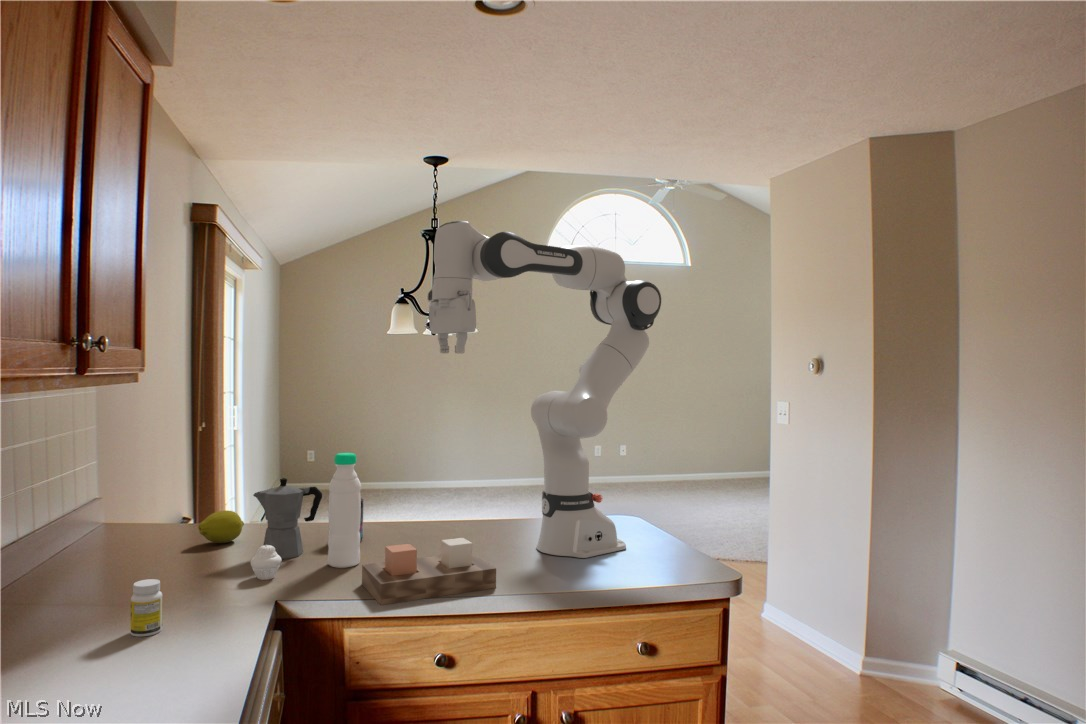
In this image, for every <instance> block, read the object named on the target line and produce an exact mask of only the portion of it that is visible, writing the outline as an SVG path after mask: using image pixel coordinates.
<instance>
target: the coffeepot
mask: <svg viewBox="0 0 1086 724" xmlns="http://www.w3.org/2000/svg"><path fill="white" fill-rule="evenodd" d="M279 481H280V485H278V486H276V487H275V486H274V487H272V488H267V489H265V490H259V491H257V492H254V494H253V495H252V496H253V497H254V498H256V499H257V500H258V502H259V504H260V506H262V508H263V510H264V515H265V520H266V521H267V527H266V529H265V534H264V535H265V536H264V541H263V545H262V546H265V545H271V546H273V547H274V548H275V551H276V552H277V554H278V555H279V556H280V557H281V559H282V560H289V559H293V558H298V557H299V556H301V555H302V554H303V552H304V546H303V541H302V534H301V529H300V526H299V525H298V524H299V523H298V522H299V521H298V519H299V518H300V517H301V511H302V507H303V506H302V505H303V499H304V497H306V496H310V495H314V498H313V501H312V506H311V508H310V511H309V513H310V514H309V516H307V517H304V518H303V520H304V521H305V522H312V521H314V520H315V517H316V515H317V511H318V509H319V506H320V504H321V501H322V499H323V493H322V491H321V490H320V489H319V488H318V487H317V486H304V487H295V486H291V485H290V486H289V485H287V482H288V478H284V477H282V478H279Z"/></svg>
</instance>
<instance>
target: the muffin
mask: <svg viewBox="0 0 1086 724" xmlns="http://www.w3.org/2000/svg"><path fill="white" fill-rule="evenodd" d="M282 560H283V559H281V557H280V556H279V555H278V554H277V552H276V551H275V548H274V547H273V546H271V545H265V546H263V545H261V546H260V547H258V549H257V550H256V553H255V555H254V556H253V557H252V558H251V560H250V566H251V569H252V570H253V572H254V575H255V576H256V578H257V579H258V580H259V581H260V580H262V581H265V580H266V581H268V580H271V579H273V578H275V576H276V574H277V572H278V570H279V568H280V566H281V564H282Z"/></svg>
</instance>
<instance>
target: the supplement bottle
mask: <svg viewBox="0 0 1086 724" xmlns="http://www.w3.org/2000/svg"><path fill="white" fill-rule="evenodd" d="M160 590H161V581H160V579H157V578H156V579H155V578H152V579H151V578H150V579H141V580H138V581H135V582H134V583H133V586H132V593H133V594H132V596H131V597H130V634H131V636H133V637H137V638H139V637H140V638H141V637H143V638H144V637H150V636H154V635H157V634H159V633H160V632H161V631H162V629H163V592H162V591H160Z"/></svg>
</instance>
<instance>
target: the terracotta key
mask: <svg viewBox="0 0 1086 724" xmlns="http://www.w3.org/2000/svg"><path fill="white" fill-rule="evenodd" d="M384 547H385V549H384V553H385V554H384V562H385V571H386V572H387V573H388V574H389V575H390V576H396V575H403V574H411V573H417V558H418V554H417V553H418V549H417V548H415V547H414V546H413V545H411V544H410V543H406V544H405V543H403V544H394V545H387V546H384Z"/></svg>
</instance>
